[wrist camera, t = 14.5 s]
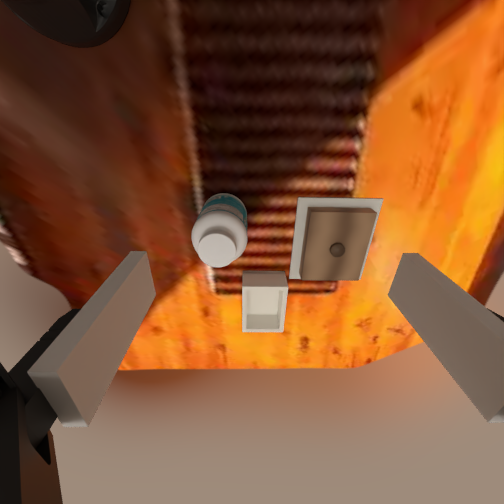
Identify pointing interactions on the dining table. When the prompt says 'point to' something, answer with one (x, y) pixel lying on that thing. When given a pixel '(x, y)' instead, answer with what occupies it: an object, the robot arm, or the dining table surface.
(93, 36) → the robot arm
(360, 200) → the mat
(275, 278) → the dish
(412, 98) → the dining table surface
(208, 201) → the pill bottle
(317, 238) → the cover
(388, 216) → the dining table surface
